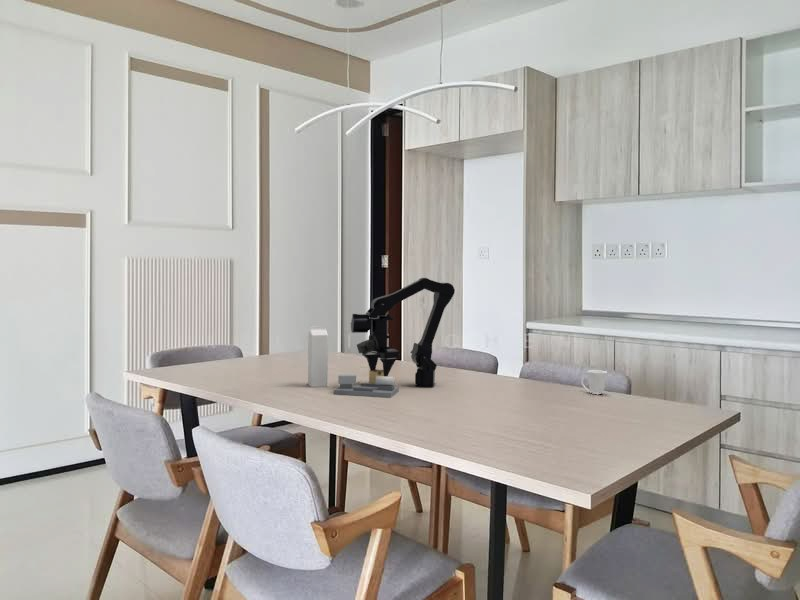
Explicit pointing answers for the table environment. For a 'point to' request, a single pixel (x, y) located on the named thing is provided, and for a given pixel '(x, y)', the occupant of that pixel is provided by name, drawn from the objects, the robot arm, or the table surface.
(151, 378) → the table surface
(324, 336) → the milk
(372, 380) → the gold square block
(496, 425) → the table surface
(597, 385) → the cup
